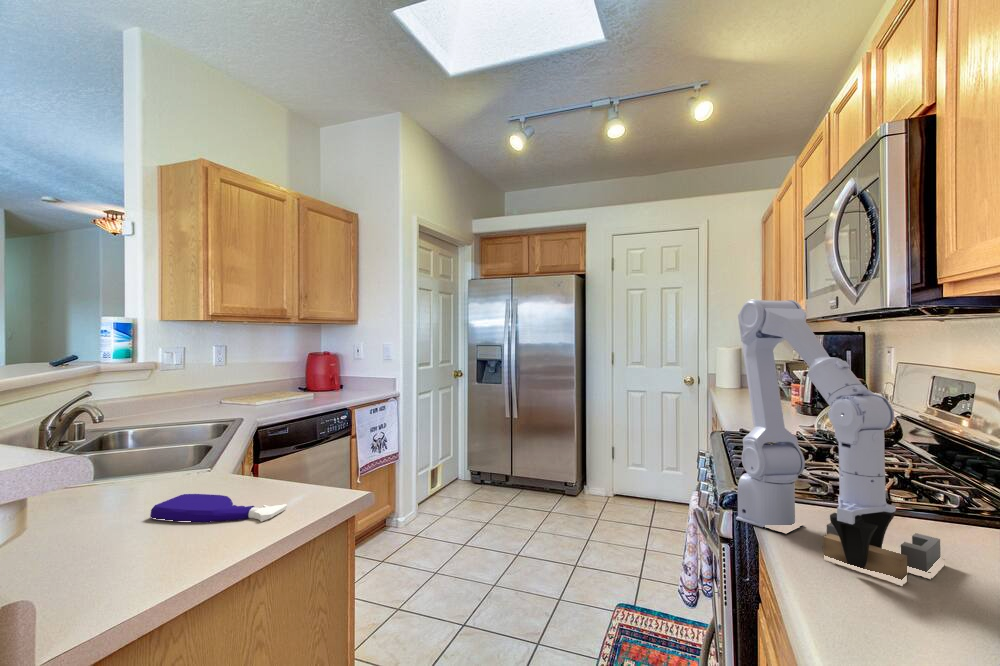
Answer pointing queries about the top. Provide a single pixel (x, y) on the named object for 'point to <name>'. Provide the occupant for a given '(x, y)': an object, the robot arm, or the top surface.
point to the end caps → (914, 550)
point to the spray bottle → (210, 509)
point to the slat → (869, 557)
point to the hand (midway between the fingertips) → (863, 559)
